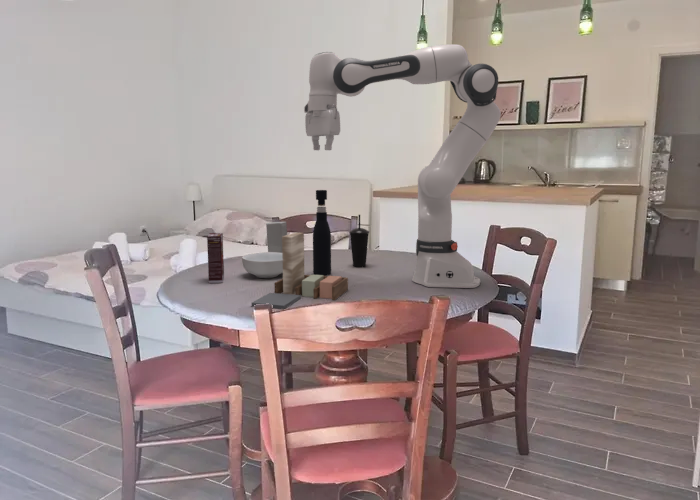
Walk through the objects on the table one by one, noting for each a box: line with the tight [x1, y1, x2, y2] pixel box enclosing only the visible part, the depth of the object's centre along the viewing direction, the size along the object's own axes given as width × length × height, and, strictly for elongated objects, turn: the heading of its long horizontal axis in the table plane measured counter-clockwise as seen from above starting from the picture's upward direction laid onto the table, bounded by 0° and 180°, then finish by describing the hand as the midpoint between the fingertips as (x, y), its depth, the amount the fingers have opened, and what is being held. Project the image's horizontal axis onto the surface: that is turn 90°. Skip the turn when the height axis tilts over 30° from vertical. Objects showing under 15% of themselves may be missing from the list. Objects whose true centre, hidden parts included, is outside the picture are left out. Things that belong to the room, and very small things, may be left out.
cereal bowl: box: [241, 251, 283, 279], centre depth 191 cm, size 17×17×7 cm
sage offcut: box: [301, 274, 324, 298], centre depth 166 cm, size 4×9×5 cm, turn 165°
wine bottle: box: [312, 189, 332, 276], centre depth 192 cm, size 6×6×30 cm
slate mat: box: [251, 292, 302, 310], centre depth 156 cm, size 10×12×1 cm
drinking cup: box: [348, 214, 370, 268], centre depth 206 cm, size 8×8×20 cm
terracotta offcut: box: [319, 275, 343, 300], centre depth 165 cm, size 4×9×5 cm, turn 163°
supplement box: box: [206, 232, 225, 284], centre depth 183 cm, size 9×5×16 cm, turn 9°
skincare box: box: [265, 221, 288, 253], centre depth 218 cm, size 8×7×16 cm
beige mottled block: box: [282, 231, 306, 295], centre depth 167 cm, size 3×10×18 cm, turn 163°
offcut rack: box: [273, 274, 349, 301], centre depth 167 cm, size 19×13×4 cm
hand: (322, 150), depth 174 cm, fingers open, 8 cm apart
